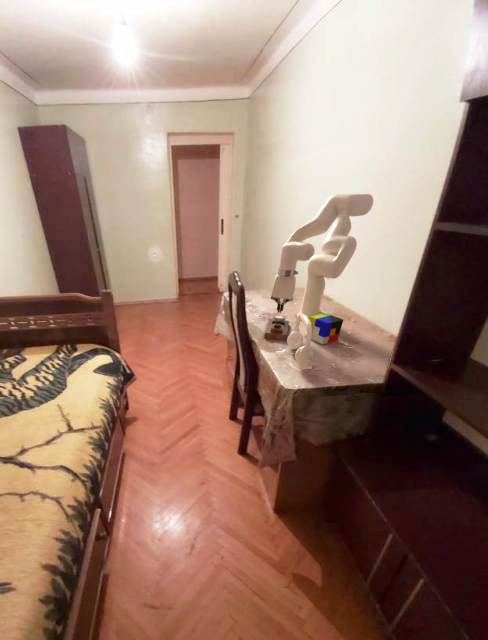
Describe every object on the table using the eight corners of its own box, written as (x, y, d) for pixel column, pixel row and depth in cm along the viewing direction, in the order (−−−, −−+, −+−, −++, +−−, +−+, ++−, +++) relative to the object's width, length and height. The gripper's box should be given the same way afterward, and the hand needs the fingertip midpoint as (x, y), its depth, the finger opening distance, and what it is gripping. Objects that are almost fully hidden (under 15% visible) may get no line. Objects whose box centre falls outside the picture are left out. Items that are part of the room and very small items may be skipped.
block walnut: (287, 332, 156) (288, 324, 153) (285, 340, 148) (287, 331, 145) (266, 330, 158) (267, 321, 156) (264, 338, 150) (265, 329, 148)
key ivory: (282, 319, 161) (282, 316, 160) (281, 321, 158) (282, 318, 157) (275, 319, 162) (276, 315, 161) (275, 321, 159) (275, 317, 158)
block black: (288, 324, 165) (289, 317, 163) (287, 331, 157) (288, 324, 155) (268, 322, 167) (269, 315, 165) (266, 329, 159) (268, 321, 157)
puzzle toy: (322, 344, 144) (327, 323, 138) (306, 336, 151) (310, 316, 146) (337, 340, 148) (343, 319, 142) (321, 333, 155) (326, 313, 150)
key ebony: (280, 326, 151) (280, 323, 151) (280, 328, 149) (280, 325, 148) (274, 326, 152) (274, 322, 151) (274, 328, 150) (274, 325, 149)
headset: (284, 348, 141) (291, 308, 131) (300, 348, 141) (308, 308, 131) (294, 369, 124) (303, 326, 114) (312, 370, 124) (323, 326, 114)
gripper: (303, 272, 148) (295, 311, 158) (270, 270, 152) (265, 308, 162) (302, 276, 142) (294, 316, 152) (269, 273, 146) (263, 312, 156)
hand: (279, 311), depth 157 cm, fingers closed
